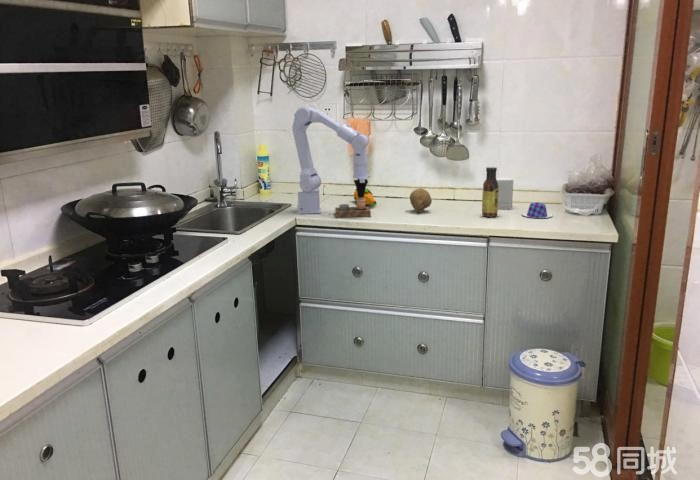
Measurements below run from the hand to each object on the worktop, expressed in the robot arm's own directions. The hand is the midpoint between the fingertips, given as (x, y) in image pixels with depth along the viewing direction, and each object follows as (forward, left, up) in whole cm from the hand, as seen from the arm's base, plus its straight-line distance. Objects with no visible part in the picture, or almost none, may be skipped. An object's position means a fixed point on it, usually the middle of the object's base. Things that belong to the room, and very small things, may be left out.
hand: (360, 197), depth 244 cm
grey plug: (-7, 0, -7) cm, 10 cm away
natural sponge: (+25, +2, -8) cm, 27 cm away
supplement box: (+61, +5, -8) cm, 62 cm away
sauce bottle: (+51, -10, -8) cm, 53 cm away
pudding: (+70, -12, -8) cm, 72 cm away
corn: (+4, +20, -8) cm, 22 cm away
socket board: (-4, 0, -7) cm, 8 cm away
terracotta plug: (0, 0, -5) cm, 5 cm away
